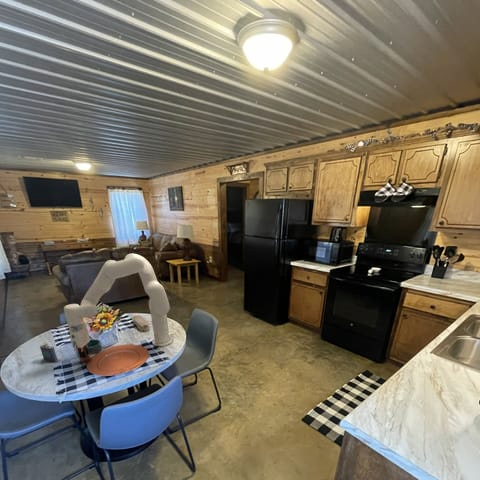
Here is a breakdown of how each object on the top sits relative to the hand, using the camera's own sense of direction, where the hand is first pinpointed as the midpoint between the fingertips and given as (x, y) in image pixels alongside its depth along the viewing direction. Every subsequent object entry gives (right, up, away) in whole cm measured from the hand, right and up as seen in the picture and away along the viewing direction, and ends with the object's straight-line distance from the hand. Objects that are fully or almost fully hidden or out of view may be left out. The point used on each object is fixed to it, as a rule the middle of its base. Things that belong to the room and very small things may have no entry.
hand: (84, 355), depth 150 cm
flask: (-21, -3, +3) cm, 22 cm away
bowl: (-4, +1, +13) cm, 14 cm away
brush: (0, -4, +2) cm, 4 cm away
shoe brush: (+15, +18, +47) cm, 52 cm away
